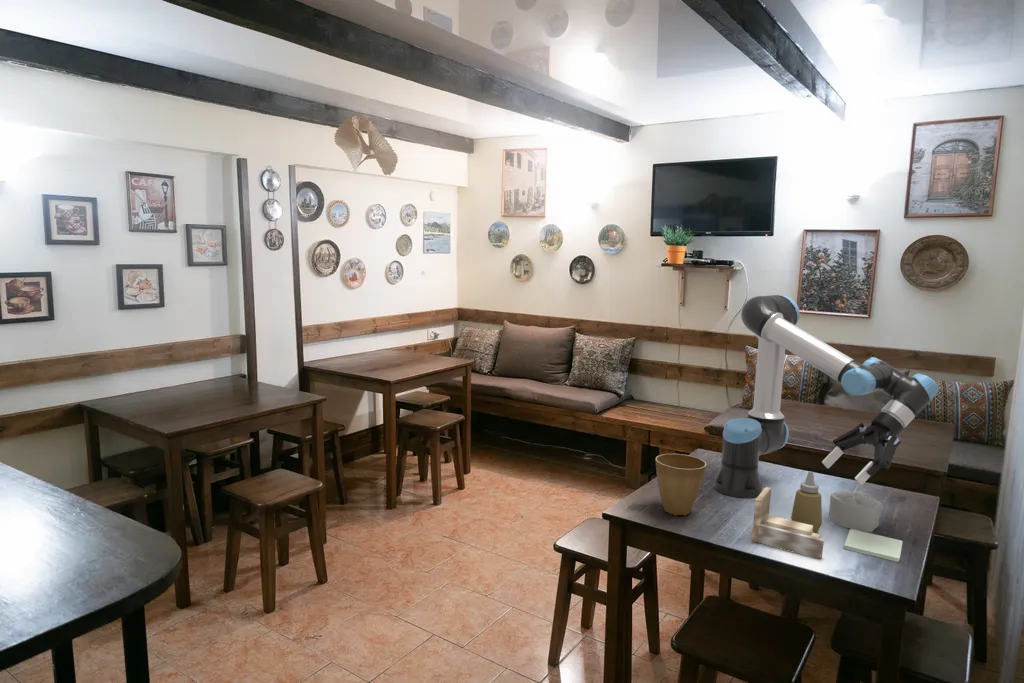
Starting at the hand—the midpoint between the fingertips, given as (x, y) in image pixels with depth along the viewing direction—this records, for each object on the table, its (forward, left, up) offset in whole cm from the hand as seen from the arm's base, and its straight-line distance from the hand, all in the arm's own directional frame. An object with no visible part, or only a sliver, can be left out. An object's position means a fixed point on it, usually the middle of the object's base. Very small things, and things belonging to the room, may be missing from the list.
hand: (840, 473), depth 186 cm
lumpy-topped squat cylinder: (+3, +11, -18) cm, 21 cm away
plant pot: (-42, -13, -18) cm, 47 cm away
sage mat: (+10, -4, -17) cm, 21 cm away
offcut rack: (-9, -15, -17) cm, 25 cm away
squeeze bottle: (-7, -6, -18) cm, 20 cm away
